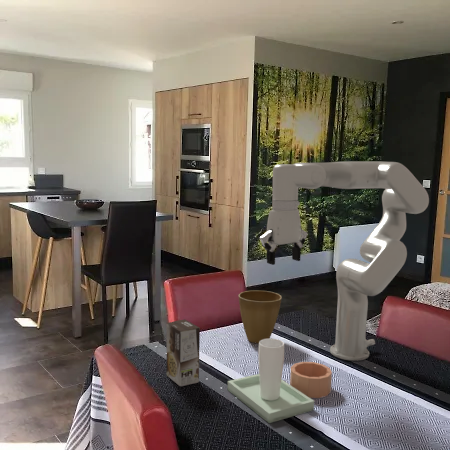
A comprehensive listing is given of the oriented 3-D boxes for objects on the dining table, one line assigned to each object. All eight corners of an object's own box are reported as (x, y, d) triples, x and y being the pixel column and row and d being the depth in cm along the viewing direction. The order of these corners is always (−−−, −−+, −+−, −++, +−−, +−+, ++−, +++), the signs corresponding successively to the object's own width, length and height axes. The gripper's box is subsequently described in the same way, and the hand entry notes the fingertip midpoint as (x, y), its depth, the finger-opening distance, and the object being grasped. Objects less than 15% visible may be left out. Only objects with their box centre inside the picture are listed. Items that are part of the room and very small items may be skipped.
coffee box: (199, 382, 146) (200, 327, 144) (179, 387, 143) (180, 331, 141) (185, 370, 154) (185, 318, 152) (165, 375, 151) (165, 321, 148)
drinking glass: (281, 404, 133) (283, 349, 131) (255, 401, 134) (256, 346, 132) (283, 392, 140) (285, 339, 137) (258, 389, 141) (260, 337, 139)
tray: (269, 379, 149) (269, 371, 149) (313, 410, 132) (314, 400, 132) (227, 389, 142) (227, 381, 142) (268, 423, 125) (269, 413, 125)
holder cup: (312, 377, 152) (313, 359, 151) (338, 392, 142) (339, 373, 141) (282, 384, 146) (283, 366, 145) (307, 401, 137) (308, 381, 136)
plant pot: (281, 348, 173) (283, 302, 171) (237, 347, 173) (238, 301, 171) (277, 332, 188) (279, 290, 186) (237, 331, 188) (238, 289, 186)
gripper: (299, 203, 161) (297, 256, 164) (253, 206, 152) (253, 262, 155) (315, 205, 155) (313, 261, 158) (269, 208, 146) (268, 267, 148)
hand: (283, 262), depth 156 cm, fingers open, 9 cm apart
